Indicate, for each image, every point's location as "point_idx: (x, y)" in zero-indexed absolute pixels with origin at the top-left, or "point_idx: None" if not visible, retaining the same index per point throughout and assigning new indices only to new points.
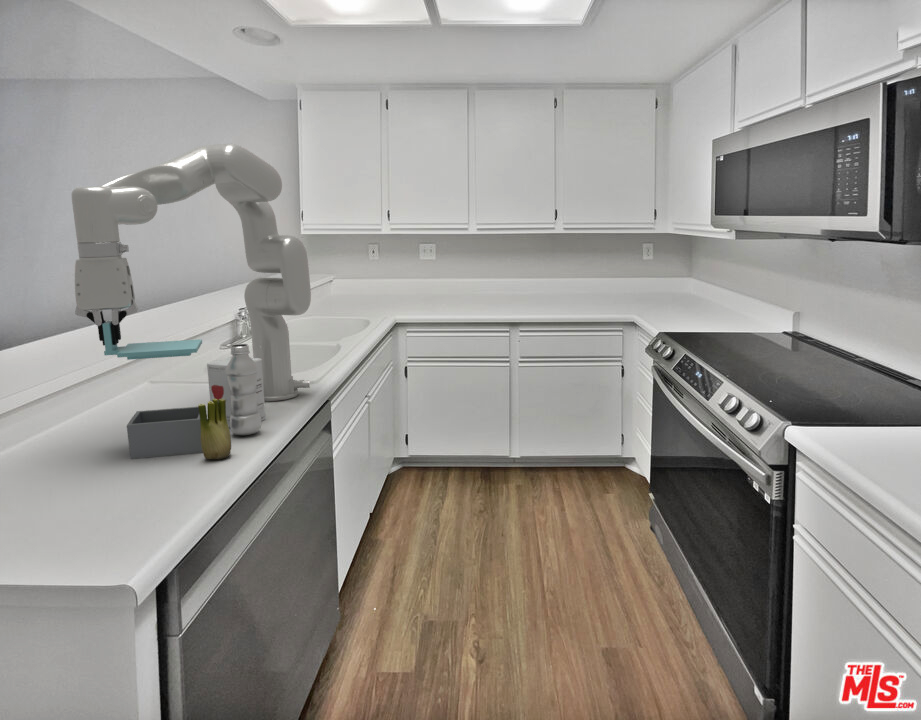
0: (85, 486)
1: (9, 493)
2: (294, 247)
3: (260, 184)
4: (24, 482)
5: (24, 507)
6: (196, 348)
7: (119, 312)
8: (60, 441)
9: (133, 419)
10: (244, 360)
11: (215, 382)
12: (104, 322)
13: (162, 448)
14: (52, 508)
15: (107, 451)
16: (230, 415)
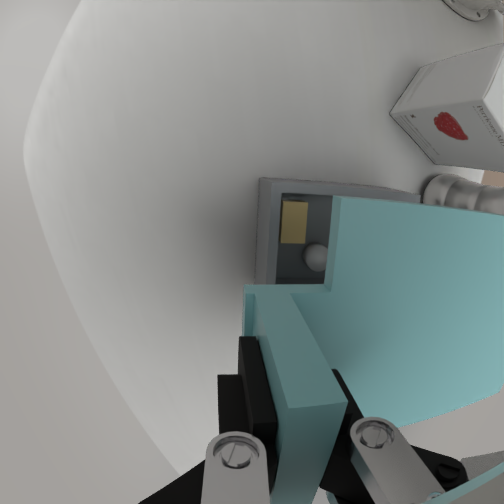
0: (208, 385)
1: (113, 379)
2: None
3: None
4: (112, 345)
5: (156, 423)
6: (501, 386)
7: (415, 489)
8: (92, 116)
9: (273, 266)
10: None
11: (462, 122)
12: (272, 483)
13: None
14: (191, 433)
15: (201, 218)
16: (442, 204)
